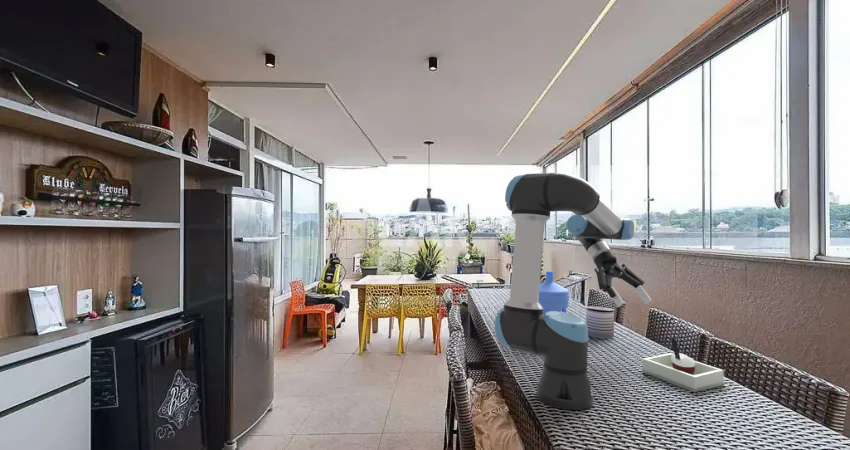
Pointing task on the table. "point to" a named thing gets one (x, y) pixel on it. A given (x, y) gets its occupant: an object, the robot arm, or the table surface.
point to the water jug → (553, 295)
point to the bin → (683, 373)
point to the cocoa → (682, 360)
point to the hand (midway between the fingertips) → (635, 303)
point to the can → (600, 322)
